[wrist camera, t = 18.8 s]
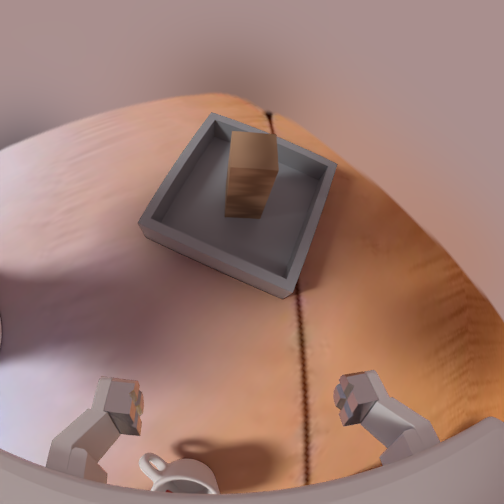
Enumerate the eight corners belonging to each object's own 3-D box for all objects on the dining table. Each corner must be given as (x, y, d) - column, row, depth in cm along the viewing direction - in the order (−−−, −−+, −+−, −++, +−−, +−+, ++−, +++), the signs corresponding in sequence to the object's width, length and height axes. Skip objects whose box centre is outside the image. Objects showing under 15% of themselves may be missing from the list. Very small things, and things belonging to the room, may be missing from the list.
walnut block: (224, 217, 39) (230, 167, 28) (225, 186, 40) (232, 130, 29) (260, 218, 40) (278, 170, 28) (259, 188, 41) (276, 134, 30)
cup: (132, 460, 28) (115, 484, 21) (168, 426, 31) (157, 446, 23) (195, 506, 27) (192, 536, 20) (232, 474, 30) (238, 502, 22)
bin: (145, 237, 38) (137, 222, 33) (210, 133, 44) (211, 112, 40) (282, 299, 38) (292, 292, 33) (325, 181, 44) (337, 164, 40)
